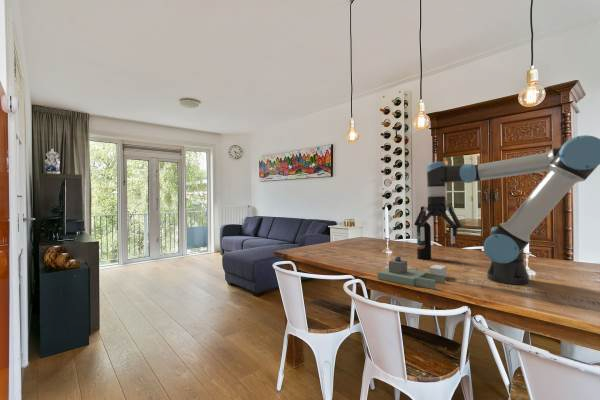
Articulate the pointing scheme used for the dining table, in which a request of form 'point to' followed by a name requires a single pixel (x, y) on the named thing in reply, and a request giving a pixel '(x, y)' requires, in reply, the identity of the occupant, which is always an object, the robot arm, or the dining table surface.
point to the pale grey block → (438, 270)
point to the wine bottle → (424, 242)
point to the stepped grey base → (409, 275)
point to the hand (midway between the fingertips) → (437, 242)
